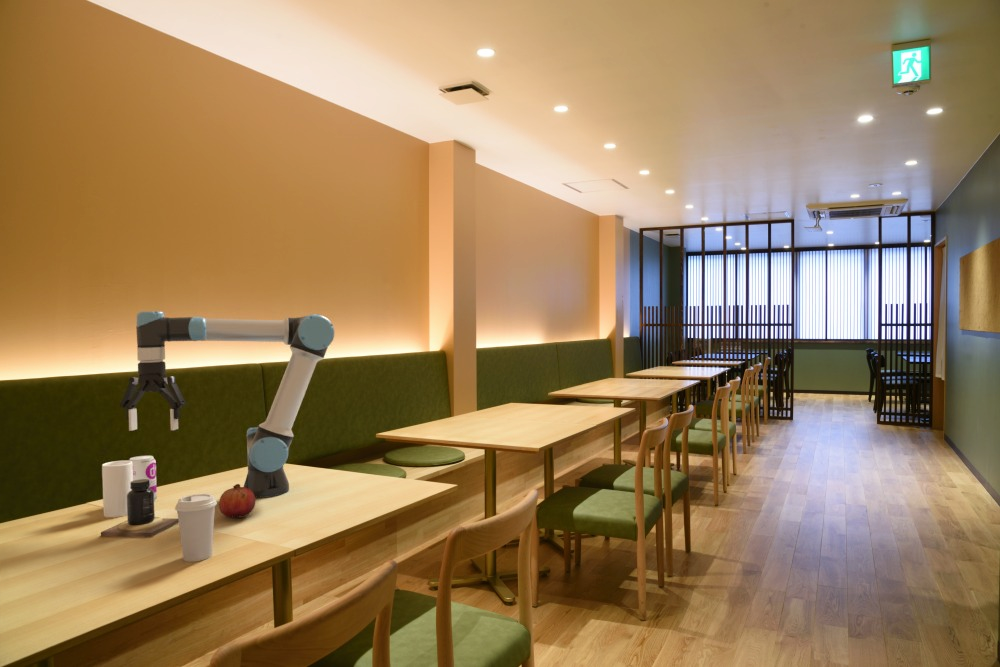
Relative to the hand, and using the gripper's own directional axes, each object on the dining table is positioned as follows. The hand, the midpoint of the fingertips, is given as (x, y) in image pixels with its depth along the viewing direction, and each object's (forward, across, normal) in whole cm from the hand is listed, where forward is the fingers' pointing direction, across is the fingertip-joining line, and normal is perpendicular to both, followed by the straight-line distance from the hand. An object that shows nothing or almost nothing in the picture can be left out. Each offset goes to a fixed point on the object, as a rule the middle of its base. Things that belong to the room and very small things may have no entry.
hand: (153, 429), depth 199 cm
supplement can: (+27, +15, -15) cm, 34 cm away
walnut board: (+27, -4, +13) cm, 30 cm away
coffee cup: (+27, -34, +34) cm, 55 cm away
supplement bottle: (+25, -4, +13) cm, 28 cm away
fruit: (+27, -27, +1) cm, 38 cm away
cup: (+27, +14, -2) cm, 30 cm away
